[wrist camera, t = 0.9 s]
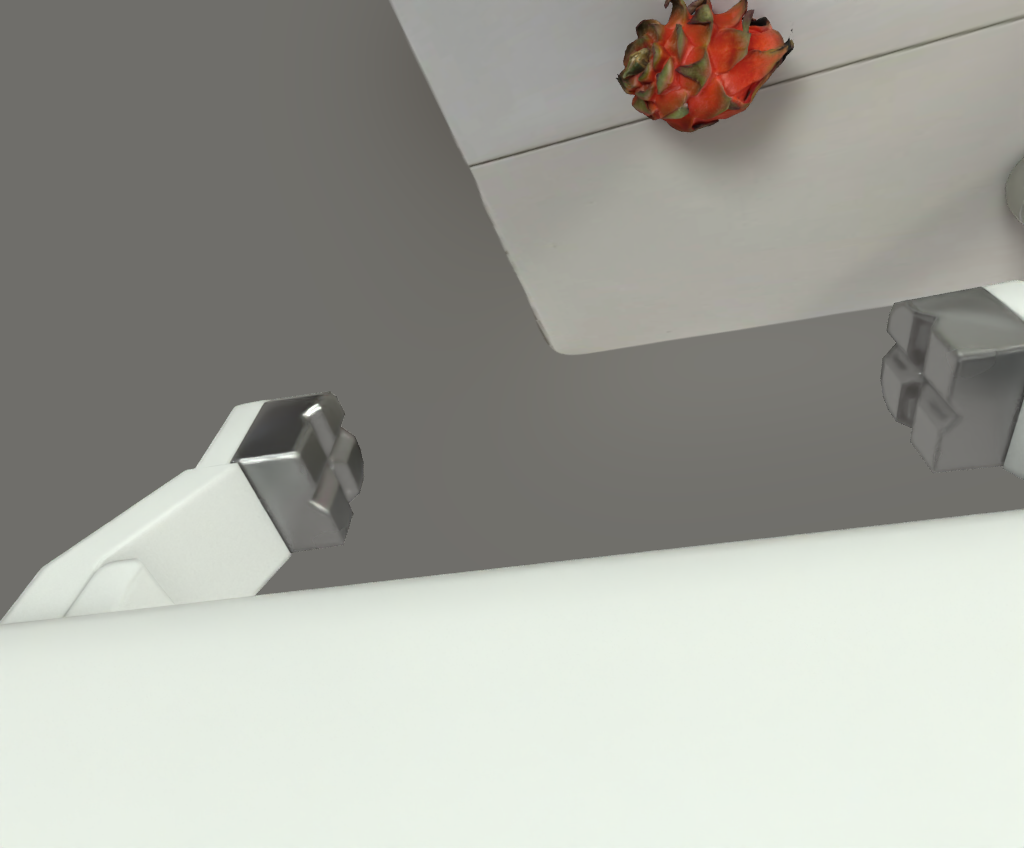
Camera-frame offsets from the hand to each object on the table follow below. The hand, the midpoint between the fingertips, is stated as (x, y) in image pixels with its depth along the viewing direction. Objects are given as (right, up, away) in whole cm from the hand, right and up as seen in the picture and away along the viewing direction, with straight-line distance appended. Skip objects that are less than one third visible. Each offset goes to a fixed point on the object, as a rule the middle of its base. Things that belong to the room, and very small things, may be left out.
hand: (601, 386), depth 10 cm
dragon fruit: (+12, +28, +39) cm, 49 cm away
